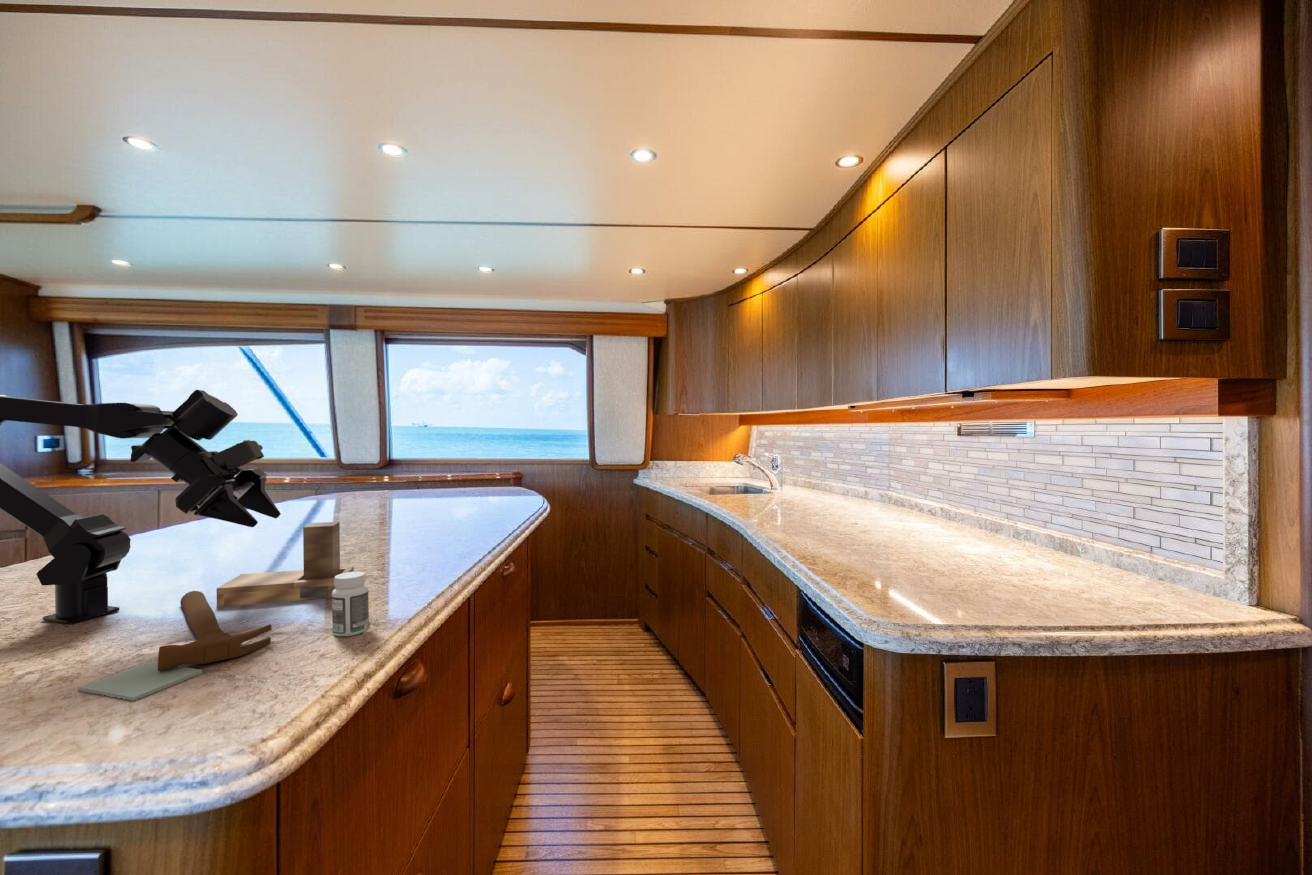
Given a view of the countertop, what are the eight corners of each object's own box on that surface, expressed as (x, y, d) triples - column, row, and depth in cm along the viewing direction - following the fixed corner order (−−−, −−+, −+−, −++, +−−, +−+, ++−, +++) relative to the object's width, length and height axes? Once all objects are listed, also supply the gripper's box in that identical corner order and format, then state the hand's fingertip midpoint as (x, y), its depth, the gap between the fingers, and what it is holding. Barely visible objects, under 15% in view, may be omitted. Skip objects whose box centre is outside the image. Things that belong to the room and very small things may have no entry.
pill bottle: (372, 624, 82) (371, 569, 82) (364, 635, 78) (363, 577, 78) (337, 627, 81) (337, 571, 81) (327, 638, 77) (327, 580, 76)
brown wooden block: (303, 596, 93) (303, 527, 93) (312, 588, 97) (311, 522, 97) (333, 593, 94) (332, 525, 94) (340, 586, 99) (339, 521, 98)
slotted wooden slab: (215, 613, 87) (215, 589, 87) (241, 596, 96) (241, 574, 96) (340, 603, 92) (340, 580, 92) (353, 587, 101) (353, 566, 101)
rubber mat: (77, 690, 61) (77, 687, 61) (149, 664, 68) (149, 661, 68) (133, 700, 59) (133, 697, 59) (202, 673, 66) (202, 669, 66)
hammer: (155, 614, 86) (157, 675, 64) (156, 594, 86) (159, 648, 64) (246, 603, 94) (275, 653, 72) (247, 584, 94) (277, 629, 72)
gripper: (195, 424, 82) (281, 491, 85) (251, 425, 100) (321, 480, 103) (135, 479, 80) (226, 545, 83) (203, 470, 98) (276, 524, 101)
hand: (267, 520), depth 93 cm, fingers open, 9 cm apart
